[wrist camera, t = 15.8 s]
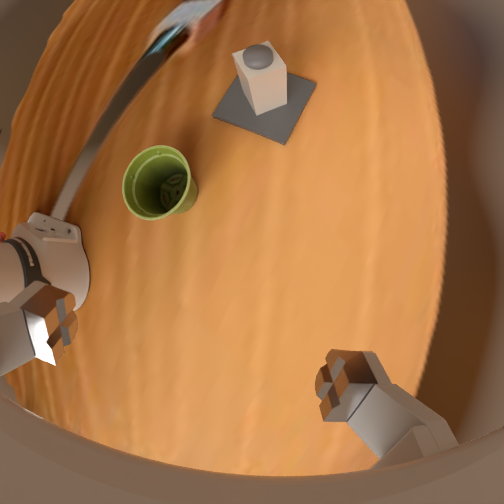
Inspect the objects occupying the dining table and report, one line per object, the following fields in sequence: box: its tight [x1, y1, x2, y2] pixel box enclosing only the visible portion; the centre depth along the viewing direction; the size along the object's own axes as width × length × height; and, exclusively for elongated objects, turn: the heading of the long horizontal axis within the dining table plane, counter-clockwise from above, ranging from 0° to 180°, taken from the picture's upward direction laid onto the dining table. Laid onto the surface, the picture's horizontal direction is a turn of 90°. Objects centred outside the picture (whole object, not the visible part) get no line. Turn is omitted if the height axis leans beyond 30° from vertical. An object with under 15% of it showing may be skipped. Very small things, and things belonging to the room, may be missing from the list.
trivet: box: [212, 73, 316, 145], centre depth 38 cm, size 12×12×1 cm
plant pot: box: [122, 145, 198, 220], centre depth 36 cm, size 9×9×9 cm
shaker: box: [232, 41, 287, 116], centre depth 32 cm, size 5×5×11 cm
